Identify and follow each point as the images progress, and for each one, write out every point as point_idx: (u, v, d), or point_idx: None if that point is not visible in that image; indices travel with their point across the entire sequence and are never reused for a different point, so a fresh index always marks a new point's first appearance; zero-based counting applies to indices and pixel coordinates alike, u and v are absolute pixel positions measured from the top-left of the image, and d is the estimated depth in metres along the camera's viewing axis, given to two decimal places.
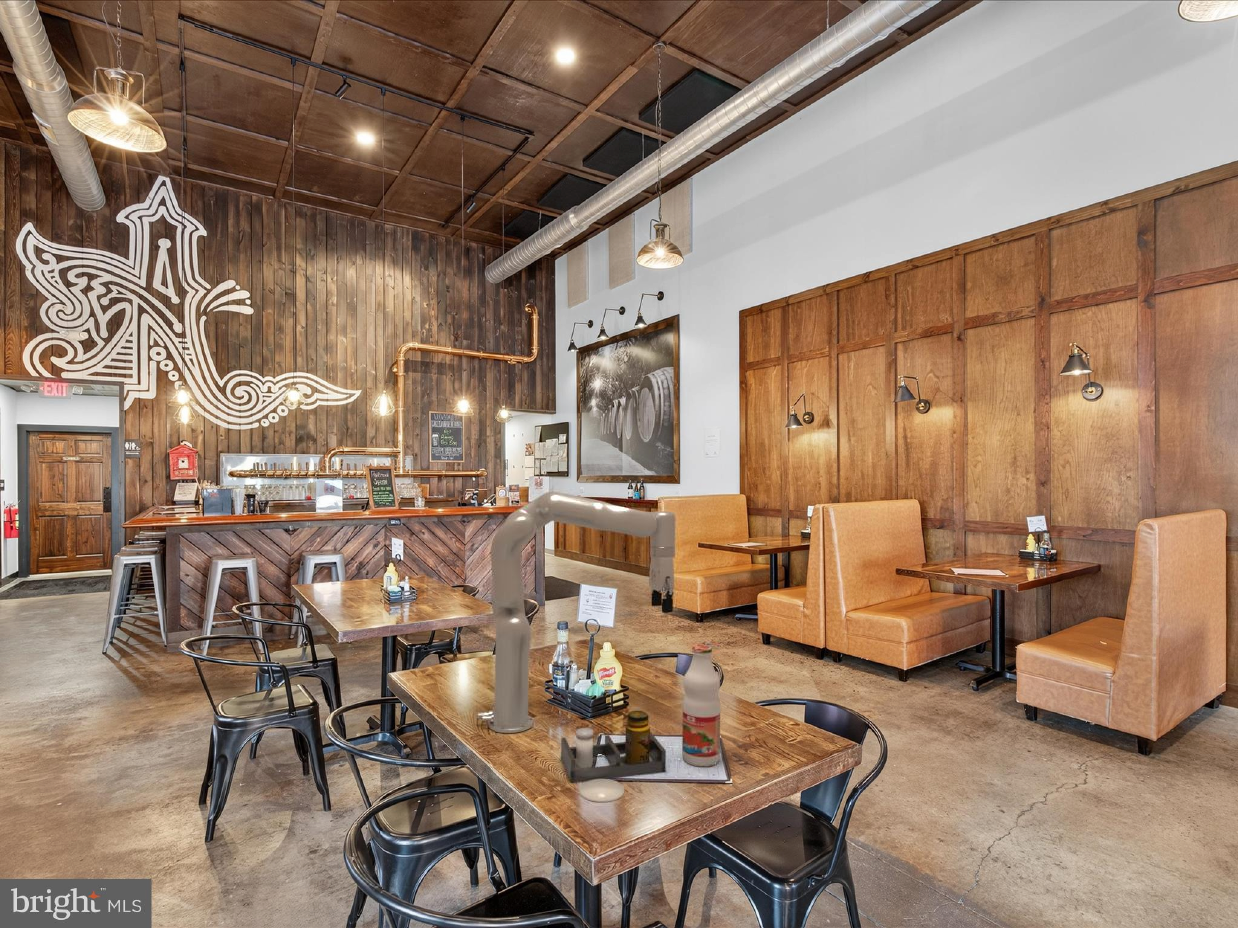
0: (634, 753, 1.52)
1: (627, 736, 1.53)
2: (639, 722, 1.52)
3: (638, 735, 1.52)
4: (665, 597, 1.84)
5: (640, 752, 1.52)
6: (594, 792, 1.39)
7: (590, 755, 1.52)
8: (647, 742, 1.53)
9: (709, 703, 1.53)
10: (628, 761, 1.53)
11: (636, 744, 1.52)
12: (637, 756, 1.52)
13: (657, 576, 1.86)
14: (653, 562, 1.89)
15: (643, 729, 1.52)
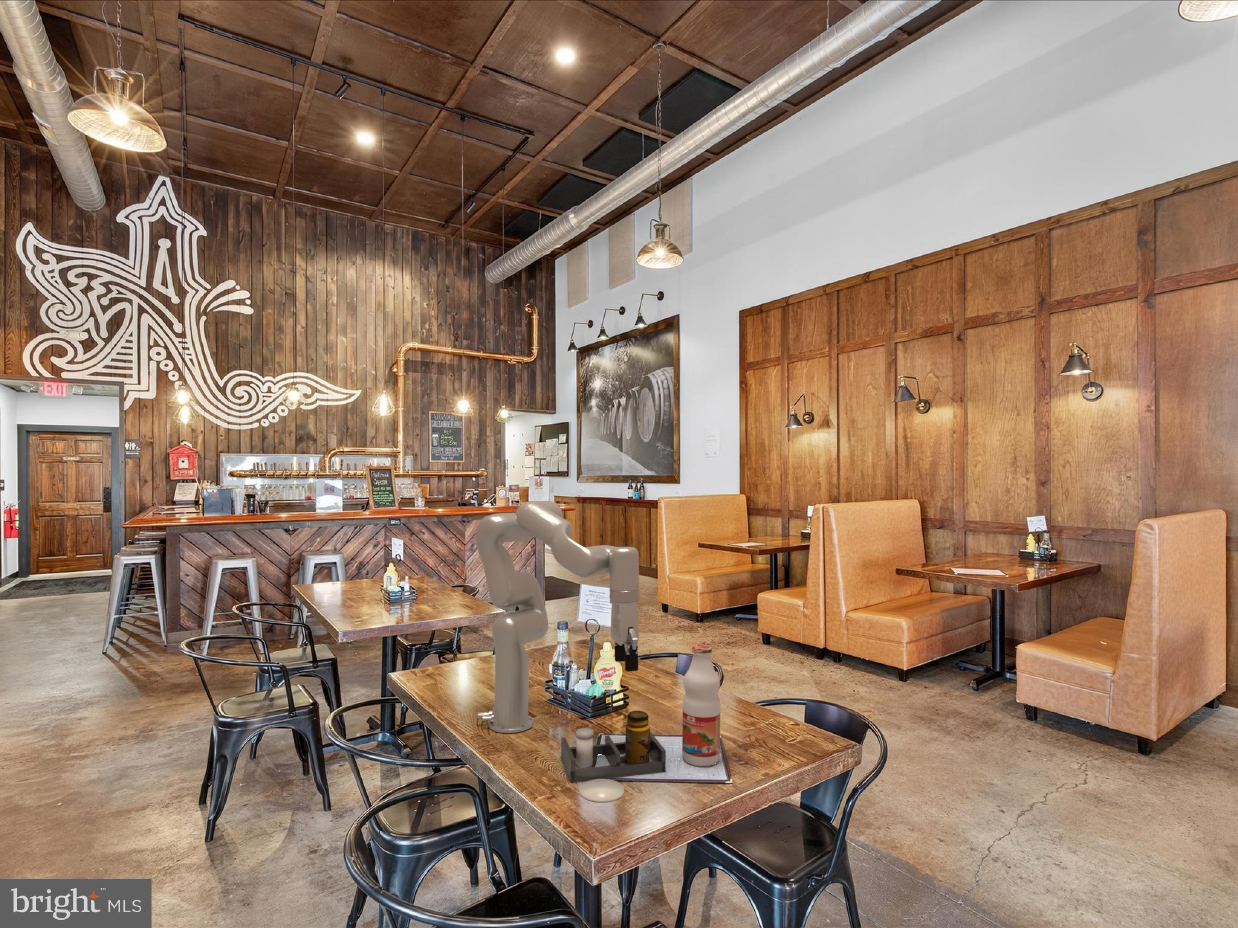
0: (634, 753, 1.52)
1: (627, 736, 1.53)
2: (639, 722, 1.52)
3: (638, 735, 1.52)
4: (628, 653, 1.50)
5: (640, 752, 1.52)
6: (594, 792, 1.39)
7: (590, 755, 1.52)
8: (647, 742, 1.53)
9: (709, 703, 1.53)
10: (628, 761, 1.53)
11: (636, 744, 1.52)
12: (637, 756, 1.52)
13: (618, 627, 1.53)
14: (614, 609, 1.56)
15: (643, 729, 1.52)
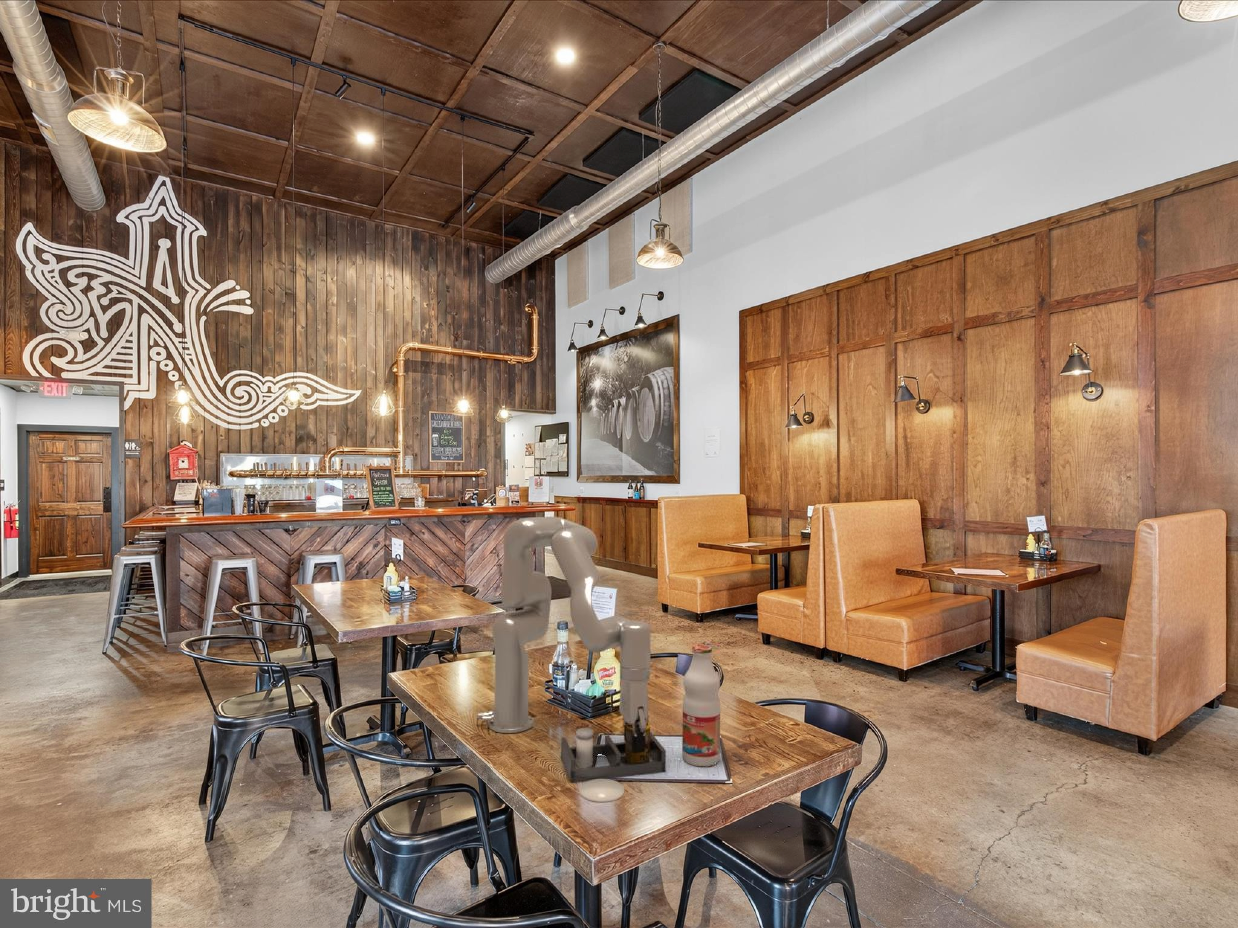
0: None
1: (627, 736, 1.53)
2: None
3: None
4: (635, 735, 1.50)
5: (640, 752, 1.52)
6: (594, 792, 1.39)
7: (590, 755, 1.52)
8: (647, 742, 1.53)
9: (709, 703, 1.53)
10: (628, 761, 1.53)
11: None
12: (637, 756, 1.52)
13: (628, 705, 1.51)
14: (624, 685, 1.54)
15: None
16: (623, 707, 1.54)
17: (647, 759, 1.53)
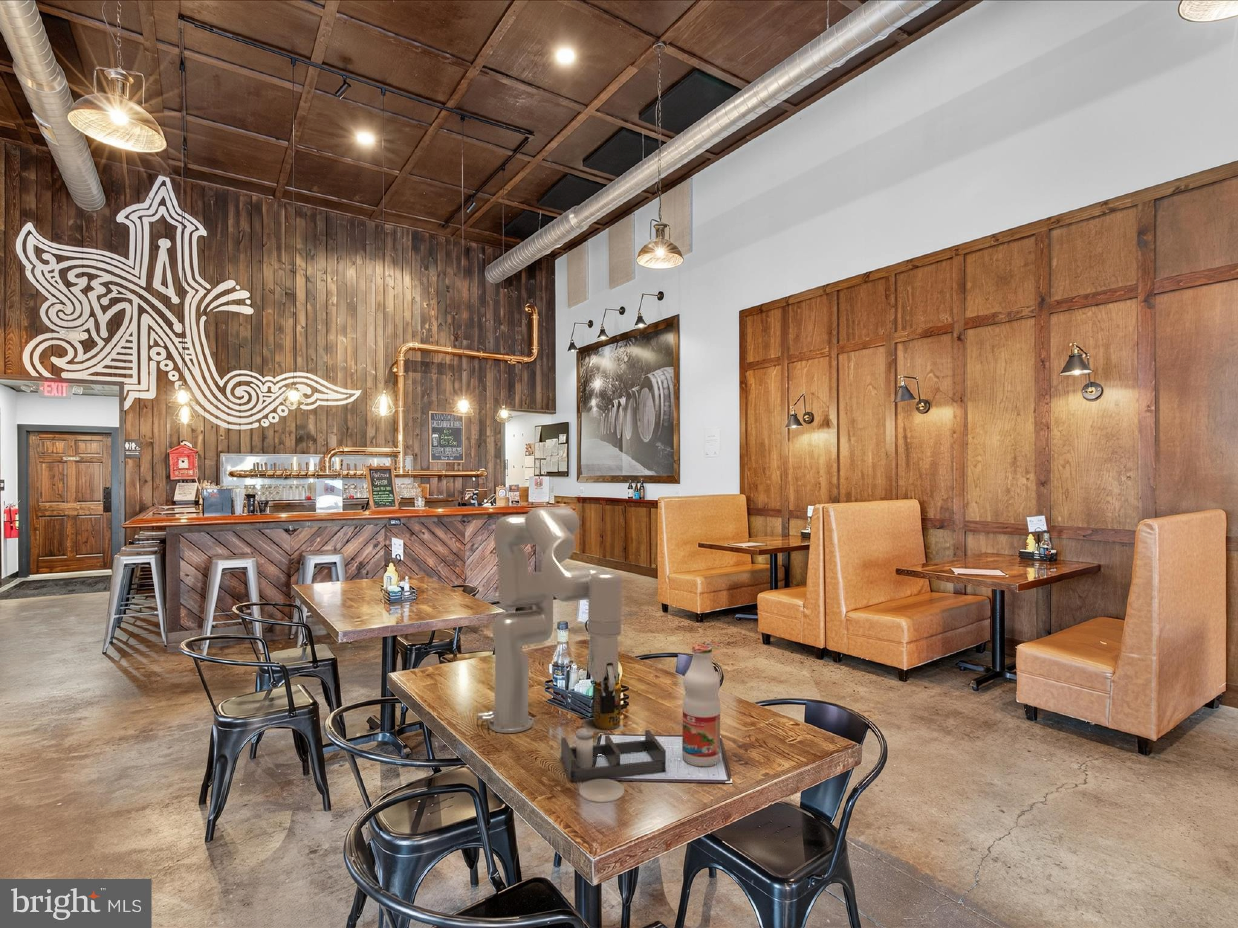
0: (603, 714, 1.38)
1: (596, 696, 1.40)
2: None
3: None
4: (604, 694, 1.36)
5: (610, 713, 1.38)
6: (594, 792, 1.39)
7: (590, 755, 1.52)
8: (617, 702, 1.39)
9: (709, 703, 1.53)
10: (596, 723, 1.39)
11: None
12: (606, 717, 1.38)
13: (596, 662, 1.37)
14: (592, 641, 1.41)
15: None
16: (591, 665, 1.41)
17: (617, 721, 1.39)
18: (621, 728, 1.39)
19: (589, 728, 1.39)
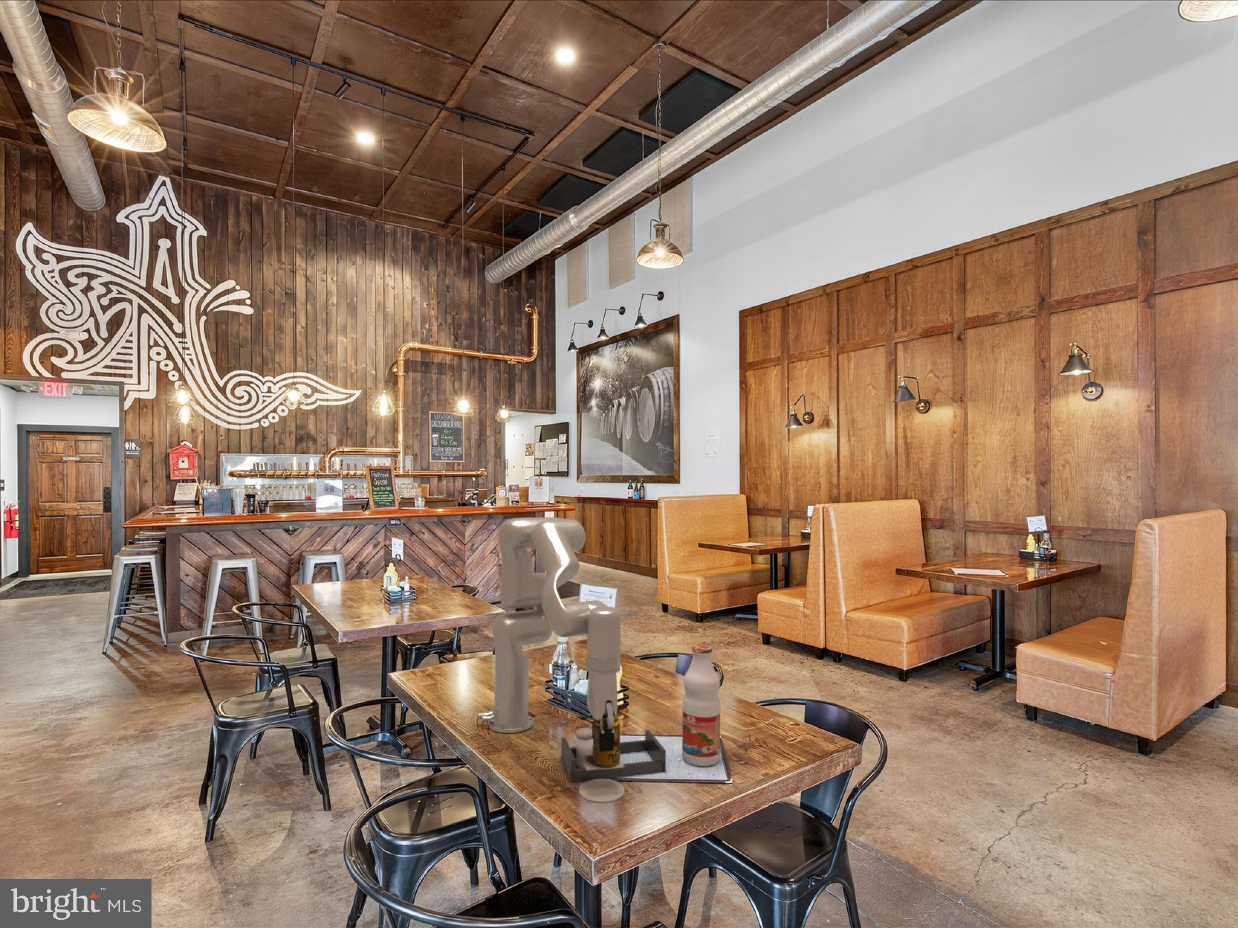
0: None
1: (595, 733, 1.39)
2: None
3: None
4: (603, 732, 1.36)
5: (609, 751, 1.38)
6: (594, 792, 1.39)
7: None
8: (617, 739, 1.39)
9: (709, 703, 1.53)
10: (596, 760, 1.38)
11: None
12: (605, 755, 1.37)
13: (594, 699, 1.37)
14: (591, 677, 1.40)
15: None
16: (590, 701, 1.40)
17: (617, 758, 1.39)
18: (620, 765, 1.38)
19: (588, 765, 1.38)
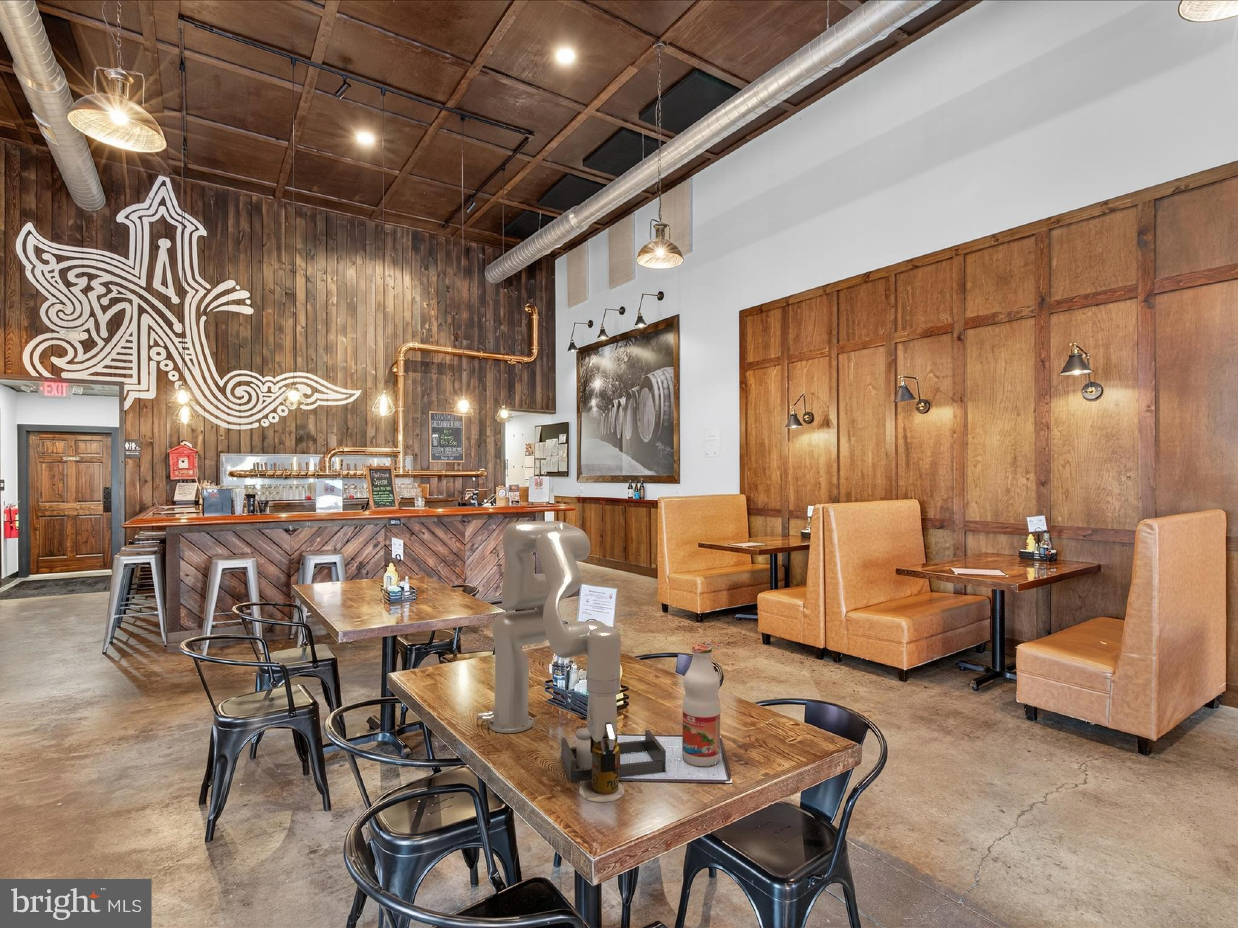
0: (601, 778, 1.38)
1: (594, 759, 1.39)
2: None
3: None
4: (604, 752, 1.34)
5: (608, 777, 1.38)
6: None
7: (590, 755, 1.52)
8: (615, 766, 1.39)
9: (709, 703, 1.53)
10: (594, 787, 1.38)
11: None
12: (604, 782, 1.37)
13: (594, 721, 1.37)
14: (591, 699, 1.40)
15: None
16: (590, 722, 1.40)
17: (615, 785, 1.39)
18: (619, 792, 1.38)
19: (587, 792, 1.38)
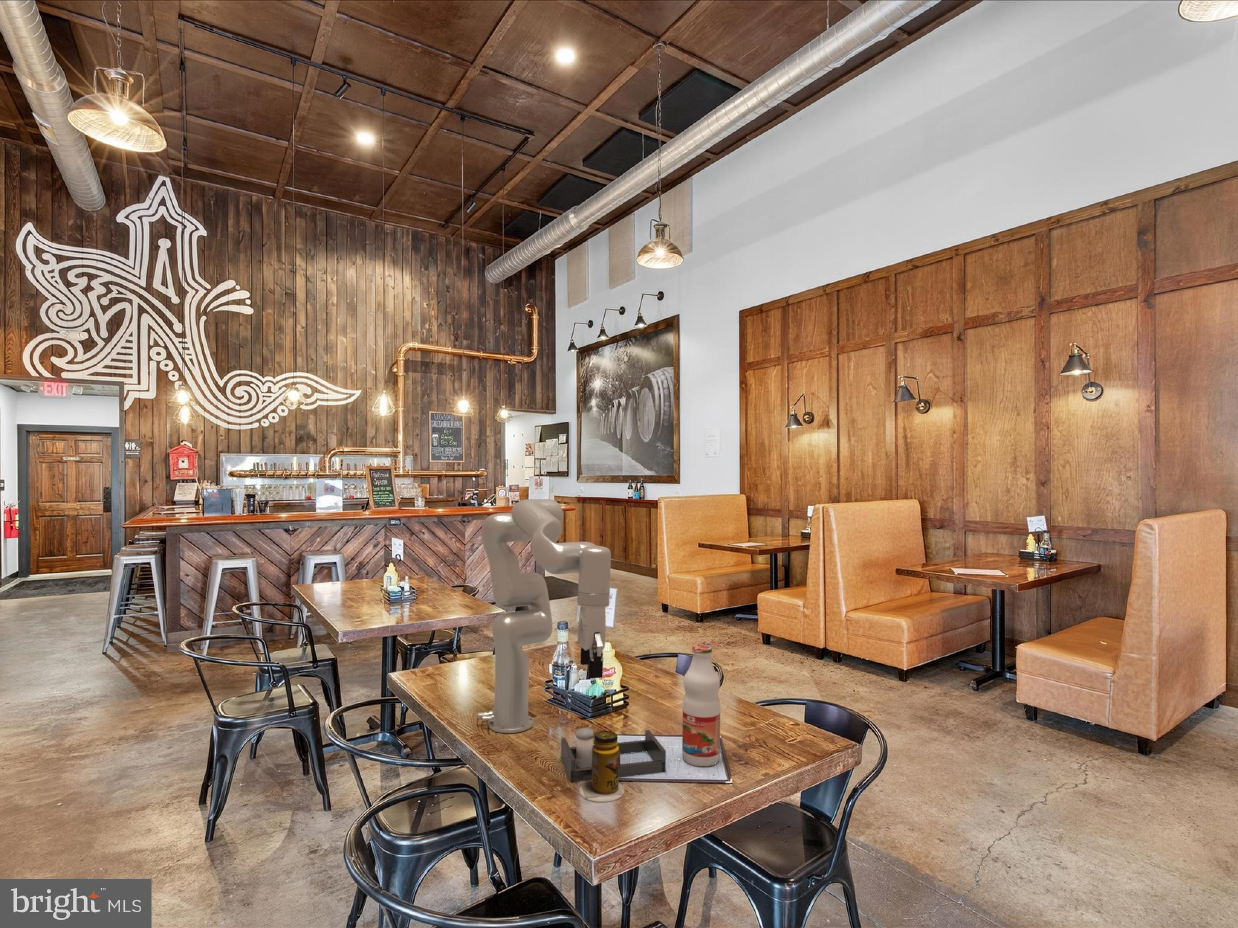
0: (601, 778, 1.38)
1: (594, 759, 1.39)
2: (606, 744, 1.38)
3: (605, 758, 1.38)
4: (592, 659, 1.43)
5: (608, 777, 1.38)
6: None
7: (590, 755, 1.52)
8: (615, 766, 1.39)
9: (709, 703, 1.53)
10: (594, 787, 1.38)
11: (603, 768, 1.38)
12: (604, 782, 1.37)
13: (584, 631, 1.45)
14: (581, 611, 1.48)
15: (611, 752, 1.38)
16: (580, 634, 1.48)
17: (615, 785, 1.39)
18: (619, 792, 1.38)
19: (587, 792, 1.38)
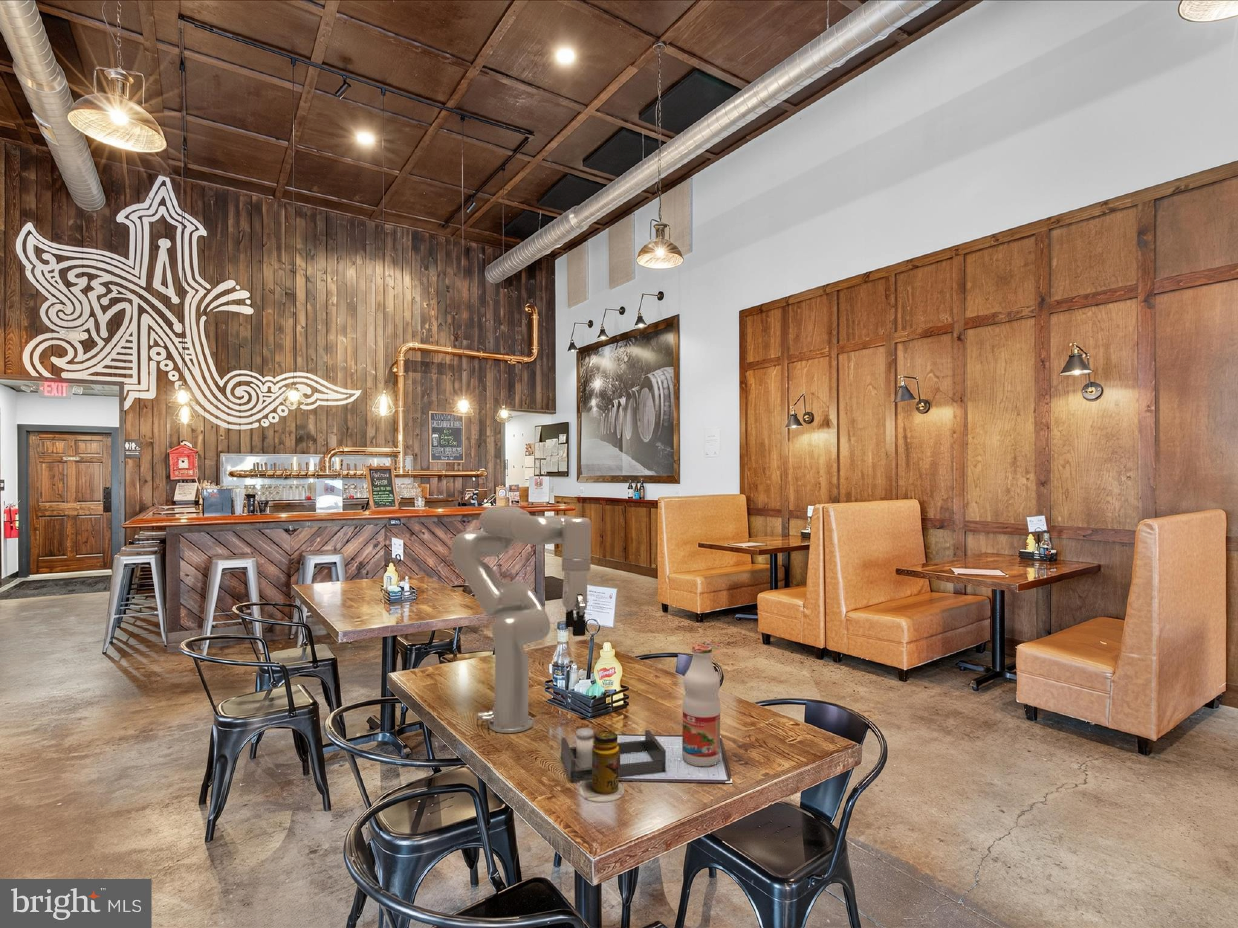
0: (601, 778, 1.38)
1: (594, 759, 1.39)
2: (606, 744, 1.38)
3: (605, 758, 1.38)
4: (575, 618, 1.57)
5: (608, 777, 1.38)
6: None
7: (590, 755, 1.52)
8: (615, 766, 1.39)
9: (709, 703, 1.53)
10: (594, 787, 1.38)
11: (603, 768, 1.38)
12: (604, 782, 1.37)
13: (567, 593, 1.59)
14: (565, 577, 1.62)
15: (611, 752, 1.38)
16: (564, 597, 1.62)
17: (615, 785, 1.39)
18: (619, 792, 1.38)
19: (587, 792, 1.38)
